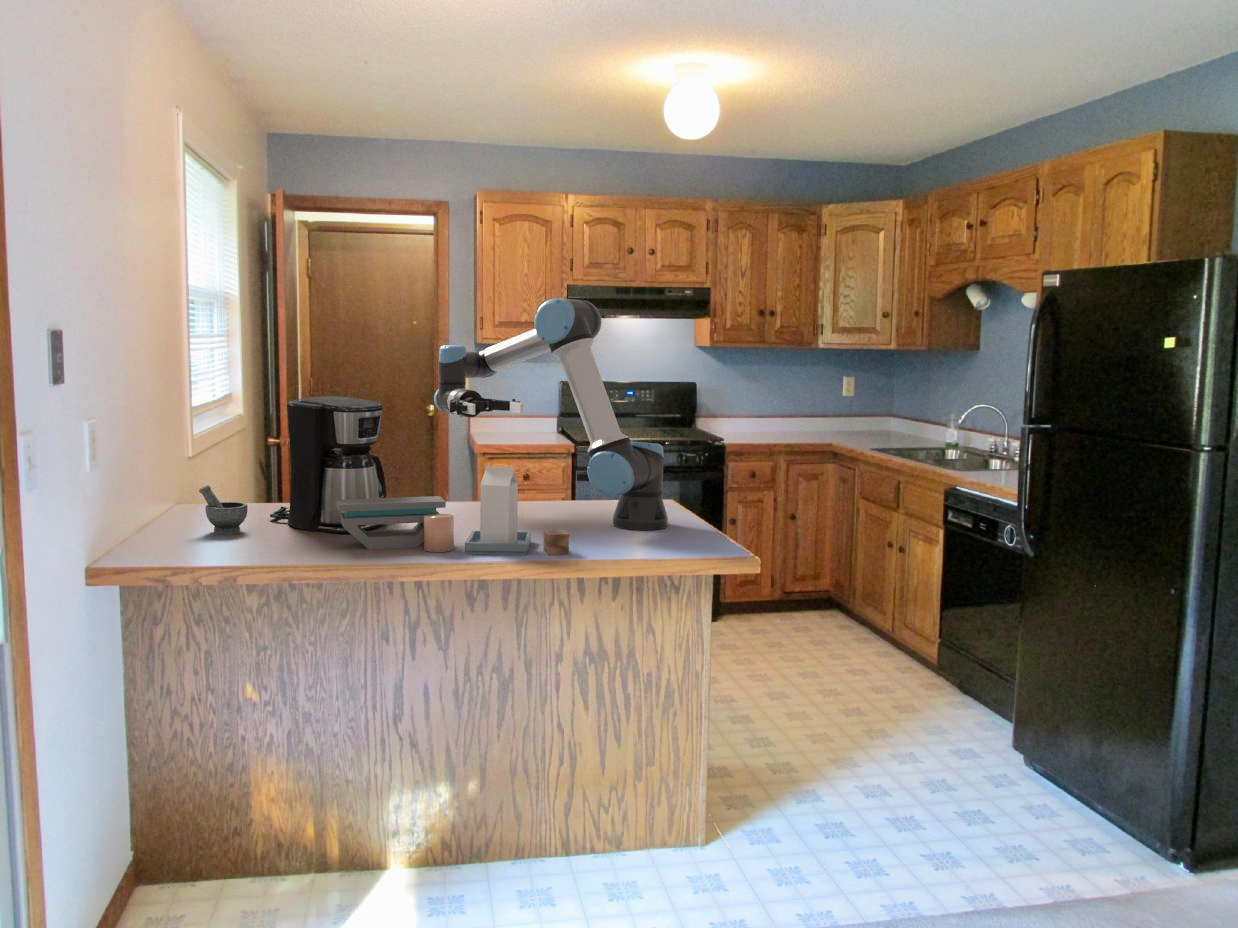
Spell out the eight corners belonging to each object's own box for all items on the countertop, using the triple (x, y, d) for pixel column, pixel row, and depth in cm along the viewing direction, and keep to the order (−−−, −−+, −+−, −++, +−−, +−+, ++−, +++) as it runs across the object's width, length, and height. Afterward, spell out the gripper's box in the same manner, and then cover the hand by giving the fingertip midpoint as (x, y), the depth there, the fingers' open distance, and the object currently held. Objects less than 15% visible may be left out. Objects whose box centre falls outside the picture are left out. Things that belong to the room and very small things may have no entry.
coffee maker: (370, 536, 249) (369, 402, 244) (245, 531, 251) (241, 398, 246) (396, 519, 271) (395, 396, 267) (281, 515, 273) (279, 393, 269)
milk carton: (508, 548, 235) (509, 469, 233) (479, 546, 236) (480, 467, 234) (517, 542, 242) (518, 465, 240) (489, 540, 243) (490, 464, 241)
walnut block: (563, 550, 239) (564, 529, 238) (568, 554, 234) (569, 534, 234) (543, 551, 237) (543, 530, 237) (548, 555, 233) (548, 534, 232)
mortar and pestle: (249, 527, 255) (248, 482, 253) (246, 535, 246) (245, 487, 244) (202, 528, 252) (201, 482, 250) (197, 536, 243) (196, 488, 241)
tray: (530, 541, 247) (530, 531, 246) (527, 554, 232) (527, 544, 232) (471, 540, 246) (472, 530, 246) (464, 553, 232) (464, 542, 231)
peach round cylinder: (457, 547, 239) (457, 514, 238) (448, 552, 232) (448, 519, 231) (429, 545, 240) (429, 513, 239) (419, 551, 233) (419, 517, 232)
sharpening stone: (439, 538, 248) (439, 496, 246) (445, 545, 240) (445, 501, 239) (336, 543, 239) (335, 499, 238) (339, 550, 232) (338, 505, 230)
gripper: (506, 415, 281) (540, 422, 263) (422, 417, 268) (452, 424, 250) (506, 389, 280) (541, 394, 262) (422, 389, 267) (453, 395, 249)
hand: (498, 409), depth 256 cm, fingers open, 13 cm apart
